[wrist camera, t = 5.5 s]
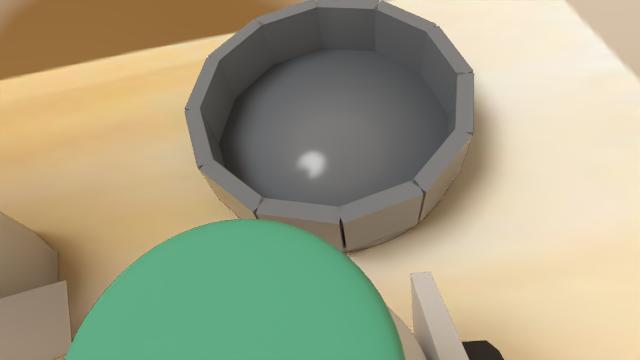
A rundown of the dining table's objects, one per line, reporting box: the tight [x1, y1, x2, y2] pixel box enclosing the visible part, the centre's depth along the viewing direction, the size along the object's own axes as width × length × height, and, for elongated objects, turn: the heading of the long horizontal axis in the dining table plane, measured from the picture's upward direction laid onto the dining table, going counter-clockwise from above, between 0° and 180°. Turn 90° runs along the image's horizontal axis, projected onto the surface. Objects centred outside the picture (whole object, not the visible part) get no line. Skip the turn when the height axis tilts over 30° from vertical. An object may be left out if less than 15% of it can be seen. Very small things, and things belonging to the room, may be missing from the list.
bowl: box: [184, 0, 474, 253], centre depth 29 cm, size 18×18×5 cm
